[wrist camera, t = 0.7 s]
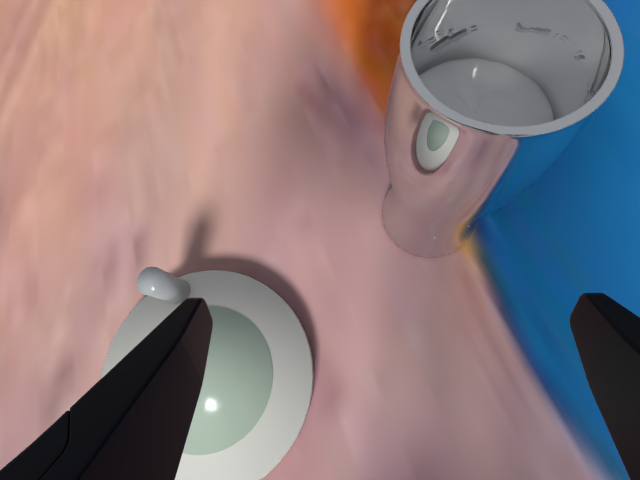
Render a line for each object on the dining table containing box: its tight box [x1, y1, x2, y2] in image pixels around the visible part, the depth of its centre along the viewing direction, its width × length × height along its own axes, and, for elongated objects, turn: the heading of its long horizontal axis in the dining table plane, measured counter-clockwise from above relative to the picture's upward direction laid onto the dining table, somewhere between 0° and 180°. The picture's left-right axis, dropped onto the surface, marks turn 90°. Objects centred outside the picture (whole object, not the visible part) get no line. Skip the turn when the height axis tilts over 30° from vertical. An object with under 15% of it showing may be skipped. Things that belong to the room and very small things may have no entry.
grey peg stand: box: [101, 267, 314, 480], centre depth 22 cm, size 13×13×5 cm
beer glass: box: [382, 0, 624, 258], centre depth 19 cm, size 7×7×15 cm
